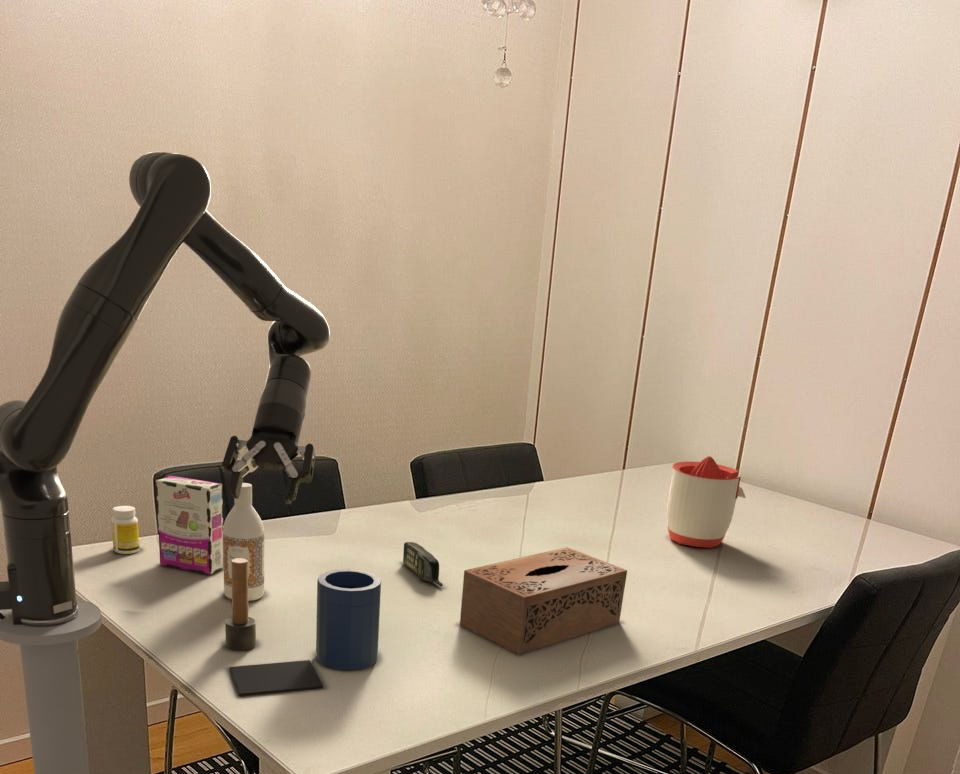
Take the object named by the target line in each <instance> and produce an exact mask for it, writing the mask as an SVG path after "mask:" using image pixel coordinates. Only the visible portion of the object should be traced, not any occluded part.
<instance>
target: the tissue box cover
mask: <svg viewBox="0 0 960 774" xmlns="http://www.w3.org/2000/svg"><path fill="white" fill-rule="evenodd" d="M627 575H628V569H624V568H622V567H619V566H616V565H614V564H611V563H609V562H607V561H604V560H601V559H599V558H597V557H593V556H591V555H588V554H586V553H583V552H580V551H578V550H576V549H573V548H570V547H562V548H558V549H553V550H548V551H544V552H540V553H535V554H530V555H527V556H522V557H518V558H513V559H509V560H505V561H500V562H496V563H490V564H487V565H482V566H478V567H474V568H469V569H465V570H464V571H463V581H462V593H461V604H460V605H461V606H460V617H459V626H461V627H463V628H465V629H467V630H469V631H471V632H473V633H475V634H477V635H478V636H480V637H482V638H485V639H486V640H489V641H490V642H493V643H495V644H497V645H498V646H500V647H503V648H505V649H506V650H509V651H511V652H512V653H514V654H517V655H522V654H525V653H528V652H532V651H535V650H537V649H540V648H544V647H547V646H550V645H554V644H557V643H560V642H563V641H566V640H570V639H572V638H575V637H578V636H579V637H580V636H582V635H585V634H588V633H592V632H594V631H597V630H598V631H599V630H601V629H605V628H608V627H610V626H613V625H616V624H619V623H620V621H621V614H622V608H623V602H624V594H625V587H626V583H627V582H626V581H627Z"/></svg>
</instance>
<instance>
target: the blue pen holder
mask: <svg viewBox="0 0 960 774" xmlns="http://www.w3.org/2000/svg"><path fill="white" fill-rule="evenodd" d="M316 582H317V585H316V627H315V629H316V633H315V635H316V636H315V637H316V638H315V652H316V654H315V655H316V656H315V657H316V660H317V662H318V663H319V664H320V665H322V666H324V667H326V668H328V669H331V670H337V671H346V672H348V671H351V672H352V671H361V670H365V669H367V668H370V667H372V666H373V665H375V664H376V662H377V661H378V652H379V637H380V617H381V616H380V615H381V596H382V594H381V593H382V592H381V591H382V579H381V578H380V576H378V575H376V574H374V573H372V572H369V571H365V570H360V569H351V568H342V569H340V568H339V569H333V570H328V571H325V572H323V573H321V574H319V575H318V577H317V580H316Z"/></svg>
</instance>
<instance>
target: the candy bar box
mask: <svg viewBox="0 0 960 774" xmlns="http://www.w3.org/2000/svg"><path fill="white" fill-rule="evenodd" d="M155 490H156V509H157V511H156V512H157V529H158V548H159V549H158V550H159V551H158V552H159V565H160V566H163V567H167V568H172V569H173V568H174V569H179V570H183V571H189V572H195V573H200V574H205V575H210V576H211V575H213V574H216V573H217V572H219V571H221V570H224V569H223V526H224V507H223V505H224V504H223V501H224V500H223V483H220V482H219V483H218V482H212V481H208V480H200V479H194V478H188V477H181V476H176V475H175V476H174V475H168V476H165V477H161V478H160V479H156V480H155Z"/></svg>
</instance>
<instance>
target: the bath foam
mask: <svg viewBox="0 0 960 774" xmlns="http://www.w3.org/2000/svg"><path fill="white" fill-rule="evenodd" d="M233 499H234V504H233V506H232V508H231V509H230V511H229V512H228V514H227V516H226V517H225V520H224V521H223V569H222V570H223V593H224V596H225V597H227V598H228V599H230V600H232V563H231V561H232V559H235V558H244V559H247V560H248V602H252V601H256V600H259V599H261V598H262V597H263V596H264V594H265V527H264V523H263V520H262V519H261V516H260V515H259V514H258V511H256V509H255V508H254V506H253V484H251V483H250V482H249V483H248V482H243V483H242V487H241V491H240V495H239V499H236V498H233Z"/></svg>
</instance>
